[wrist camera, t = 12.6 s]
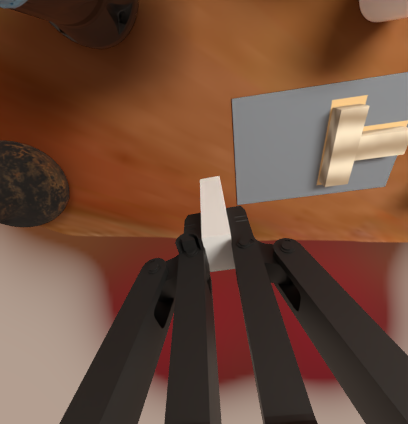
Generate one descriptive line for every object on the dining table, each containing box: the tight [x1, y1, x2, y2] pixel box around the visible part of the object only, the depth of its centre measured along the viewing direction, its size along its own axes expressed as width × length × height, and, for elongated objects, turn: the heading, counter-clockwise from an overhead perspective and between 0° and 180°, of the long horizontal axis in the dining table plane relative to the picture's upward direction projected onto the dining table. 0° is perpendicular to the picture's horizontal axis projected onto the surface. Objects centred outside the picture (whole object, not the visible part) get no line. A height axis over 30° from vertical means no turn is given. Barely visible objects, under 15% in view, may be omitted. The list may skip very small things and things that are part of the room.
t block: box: [319, 104, 408, 187], centre depth 44 cm, size 16×15×3 cm
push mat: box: [232, 72, 408, 205], centre depth 46 cm, size 24×36×1 cm, turn 98°
